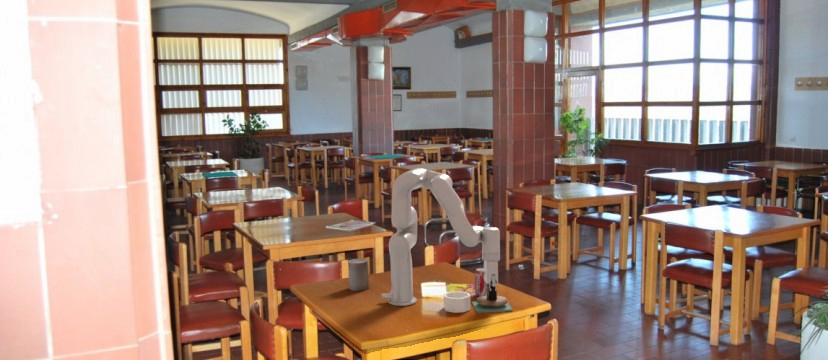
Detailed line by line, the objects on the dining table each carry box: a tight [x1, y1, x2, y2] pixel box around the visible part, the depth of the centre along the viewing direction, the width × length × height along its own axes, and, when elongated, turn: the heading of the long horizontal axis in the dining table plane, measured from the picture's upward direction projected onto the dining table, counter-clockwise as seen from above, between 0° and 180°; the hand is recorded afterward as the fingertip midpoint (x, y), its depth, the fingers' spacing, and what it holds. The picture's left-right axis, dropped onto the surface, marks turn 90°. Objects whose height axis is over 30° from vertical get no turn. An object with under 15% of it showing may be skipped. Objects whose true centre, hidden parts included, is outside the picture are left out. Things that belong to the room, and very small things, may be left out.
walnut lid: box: [476, 287, 508, 306], centre depth 296 cm, size 13×13×6 cm
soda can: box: [474, 267, 487, 297], centre depth 314 cm, size 7×7×12 cm
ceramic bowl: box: [443, 290, 472, 314], centre depth 295 cm, size 11×11×6 cm
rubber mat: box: [471, 300, 513, 314], centre depth 296 cm, size 15×14×1 cm
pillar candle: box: [347, 258, 370, 292], centre depth 331 cm, size 10×10×15 cm
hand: (491, 297), depth 296 cm, fingers closed on walnut lid, 4 cm apart
